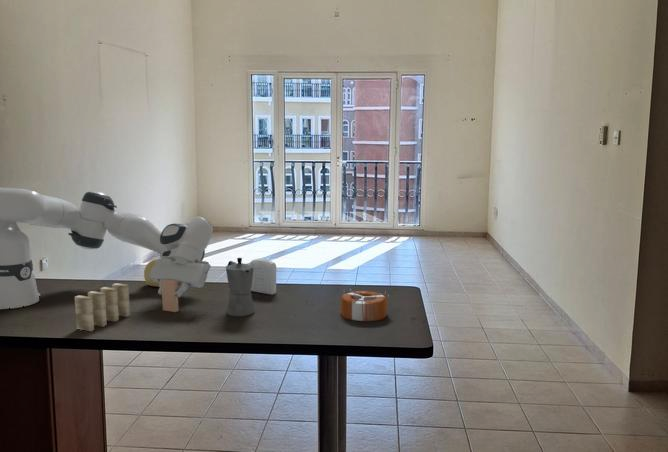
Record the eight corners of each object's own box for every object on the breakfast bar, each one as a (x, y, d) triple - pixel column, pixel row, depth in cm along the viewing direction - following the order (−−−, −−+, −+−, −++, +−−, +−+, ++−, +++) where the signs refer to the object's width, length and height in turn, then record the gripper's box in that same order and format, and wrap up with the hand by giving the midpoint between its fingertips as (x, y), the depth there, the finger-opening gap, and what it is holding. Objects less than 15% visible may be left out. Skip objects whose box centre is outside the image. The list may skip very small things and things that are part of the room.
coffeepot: (263, 315, 183) (262, 259, 180) (235, 320, 178) (234, 263, 175) (242, 303, 196) (241, 251, 193) (216, 307, 191) (214, 254, 188)
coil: (347, 306, 194) (390, 310, 189) (334, 320, 179) (381, 324, 175) (347, 286, 192) (391, 290, 188) (334, 298, 178) (381, 303, 174)
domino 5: (162, 310, 188) (161, 280, 186) (165, 308, 189) (164, 279, 188) (175, 312, 186) (174, 281, 184) (178, 310, 187) (177, 280, 186)
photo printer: (278, 292, 209) (277, 259, 207) (271, 295, 205) (270, 261, 203) (255, 288, 214) (254, 256, 212) (248, 291, 210) (247, 258, 208)
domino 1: (76, 329, 169) (74, 296, 167) (81, 327, 171) (78, 295, 169) (89, 331, 167) (87, 298, 166) (94, 330, 169) (91, 297, 167)
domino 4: (114, 314, 183) (112, 284, 181) (117, 313, 184) (115, 283, 183) (126, 316, 181) (124, 286, 179) (130, 315, 182) (128, 284, 181)
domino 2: (89, 324, 174) (87, 292, 172) (93, 322, 175) (91, 291, 173) (102, 326, 172) (100, 294, 170) (106, 325, 173) (104, 292, 172)
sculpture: (172, 289, 212) (171, 261, 211) (140, 289, 213) (138, 260, 211) (181, 281, 224) (180, 254, 222) (150, 281, 224) (149, 254, 222)
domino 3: (102, 319, 178) (100, 288, 177) (106, 318, 180) (104, 286, 178) (114, 321, 176) (113, 290, 175) (118, 320, 178) (116, 288, 176)
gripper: (216, 267, 192) (199, 303, 185) (166, 261, 200) (148, 296, 192) (208, 256, 187) (191, 293, 180) (157, 251, 195) (138, 286, 187)
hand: (168, 294), depth 186 cm, fingers closed on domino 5, 5 cm apart
